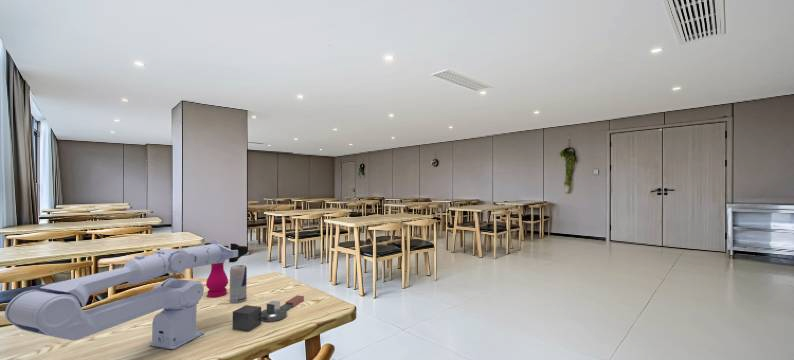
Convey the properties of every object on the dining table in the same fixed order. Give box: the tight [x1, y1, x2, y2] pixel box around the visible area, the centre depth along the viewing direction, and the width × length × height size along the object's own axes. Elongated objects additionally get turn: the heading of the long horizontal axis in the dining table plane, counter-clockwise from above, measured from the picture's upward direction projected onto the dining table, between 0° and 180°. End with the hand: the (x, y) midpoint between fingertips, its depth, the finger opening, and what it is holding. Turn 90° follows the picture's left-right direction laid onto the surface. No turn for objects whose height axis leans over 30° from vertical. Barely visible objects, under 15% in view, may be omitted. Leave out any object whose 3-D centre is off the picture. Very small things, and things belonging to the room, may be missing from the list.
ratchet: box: [261, 295, 305, 324], centre depth 108 cm, size 20×8×4 cm, turn 165°
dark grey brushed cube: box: [232, 304, 262, 333], centre depth 95 cm, size 5×5×5 cm
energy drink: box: [229, 264, 248, 304], centre depth 116 cm, size 5×5×12 cm
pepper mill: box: [205, 240, 229, 298], centre depth 122 cm, size 7×7×20 cm
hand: (237, 249), depth 107 cm, fingers open, 7 cm apart
